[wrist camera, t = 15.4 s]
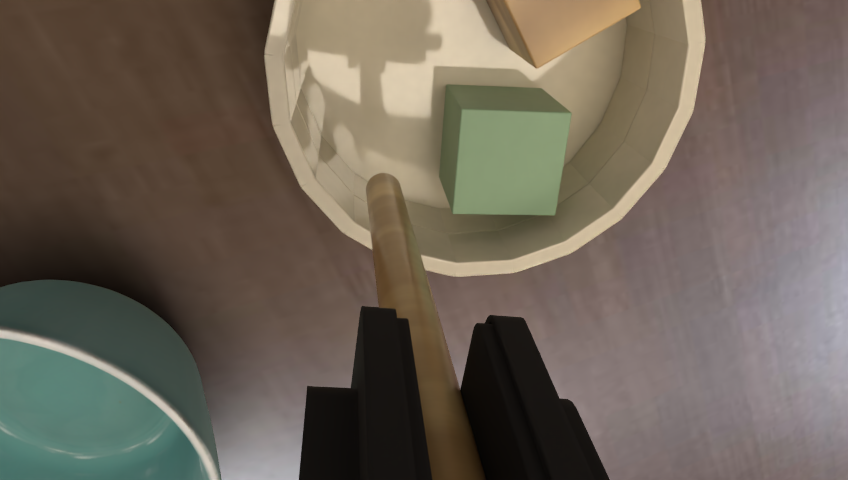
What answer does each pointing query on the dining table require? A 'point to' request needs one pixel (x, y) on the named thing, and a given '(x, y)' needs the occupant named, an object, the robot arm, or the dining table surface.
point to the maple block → (555, 24)
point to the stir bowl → (424, 110)
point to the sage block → (502, 150)
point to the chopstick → (420, 332)
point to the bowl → (97, 389)
